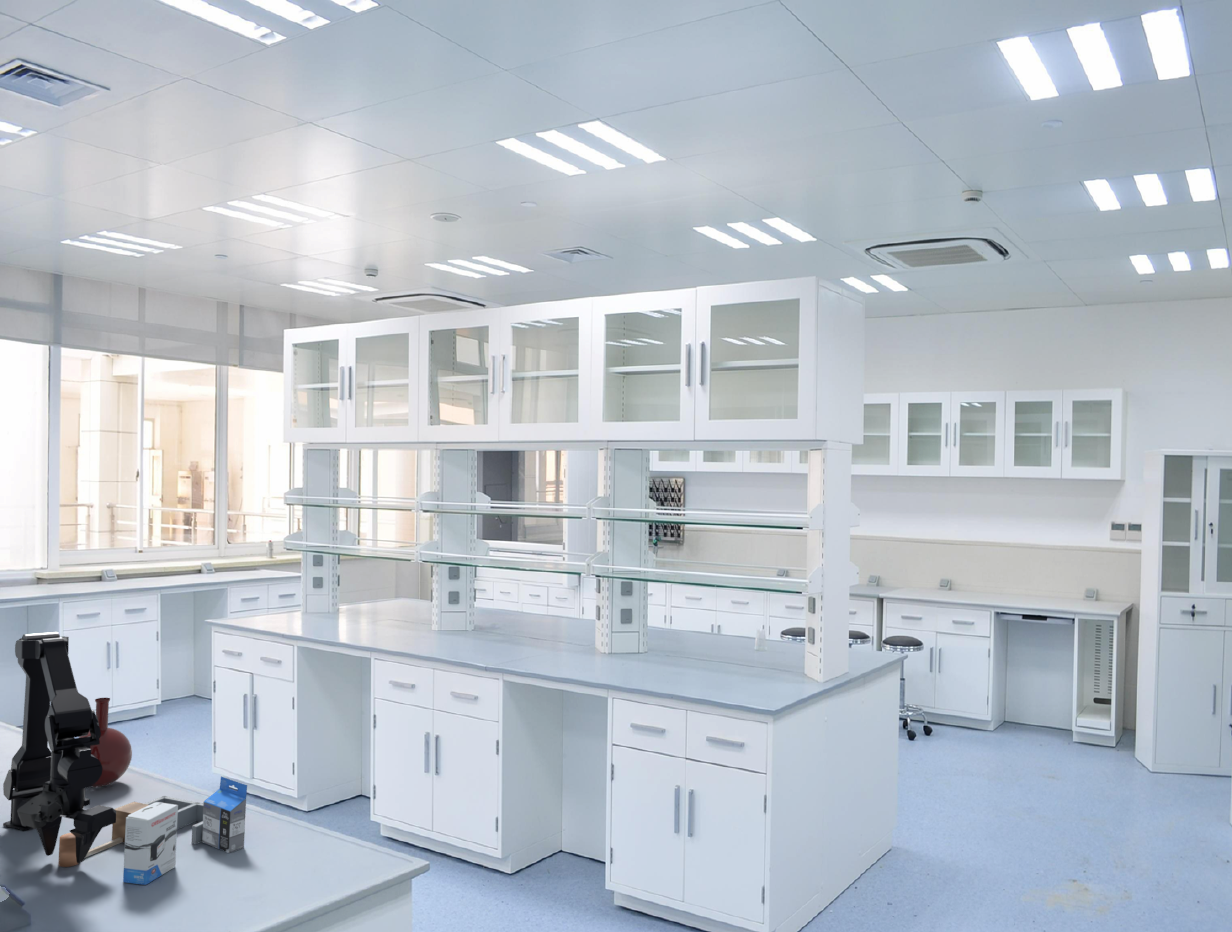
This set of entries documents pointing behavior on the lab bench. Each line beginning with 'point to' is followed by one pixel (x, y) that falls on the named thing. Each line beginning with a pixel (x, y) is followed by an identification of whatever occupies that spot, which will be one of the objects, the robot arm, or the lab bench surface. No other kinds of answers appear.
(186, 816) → the shelf lane
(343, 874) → the lab bench surface
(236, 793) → the ink cartridge box
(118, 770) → the round-bottom flask
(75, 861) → the brown elongated piece
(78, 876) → the lab bench surface
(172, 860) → the ink box
